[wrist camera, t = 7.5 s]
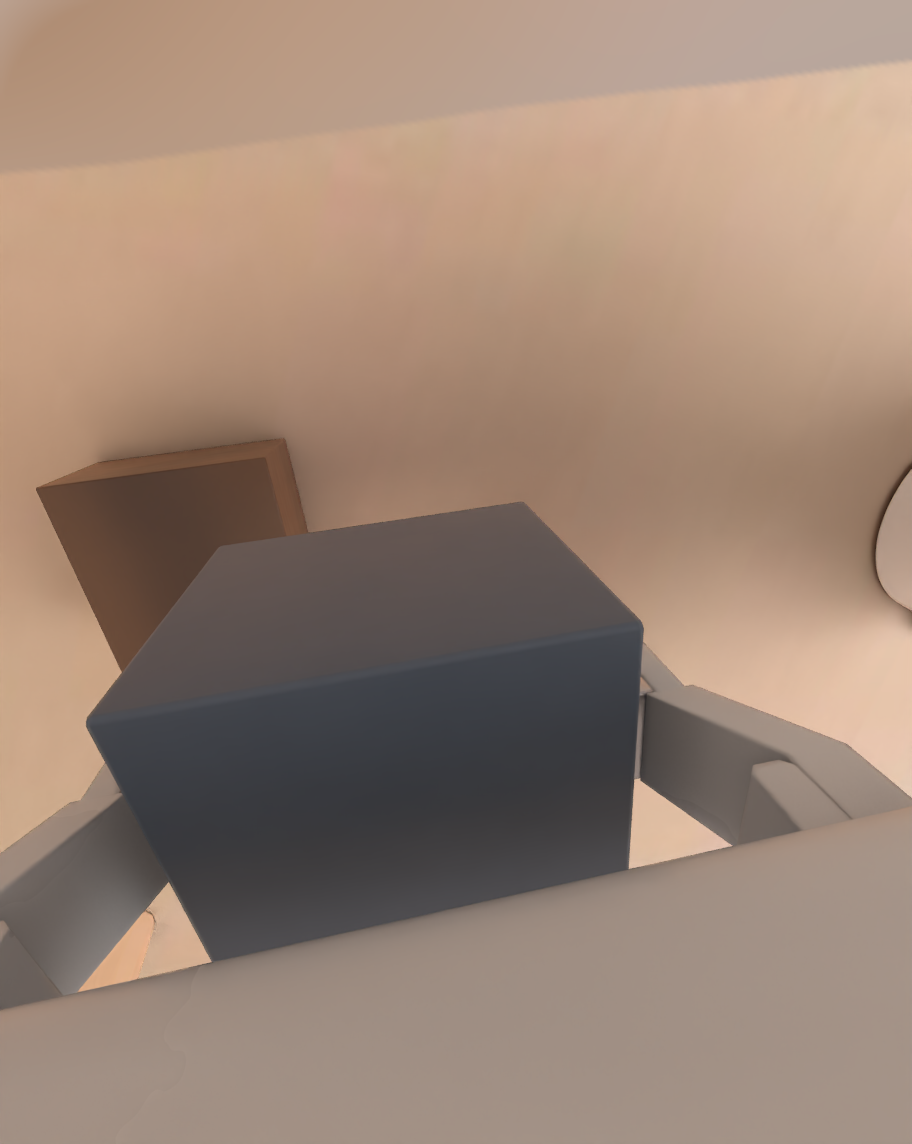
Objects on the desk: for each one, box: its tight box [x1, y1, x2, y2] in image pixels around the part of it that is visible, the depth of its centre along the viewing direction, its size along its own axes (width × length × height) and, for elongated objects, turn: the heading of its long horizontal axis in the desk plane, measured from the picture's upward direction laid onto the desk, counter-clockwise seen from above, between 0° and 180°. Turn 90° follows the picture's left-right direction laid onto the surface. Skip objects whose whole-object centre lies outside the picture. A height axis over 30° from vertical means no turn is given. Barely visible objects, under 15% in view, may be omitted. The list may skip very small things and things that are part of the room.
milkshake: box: [78, 911, 155, 992], centre depth 33 cm, size 4×5×10 cm
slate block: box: [86, 502, 644, 962], centre depth 9 cm, size 6×6×5 cm
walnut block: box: [36, 438, 308, 672], centre depth 24 cm, size 9×9×5 cm
